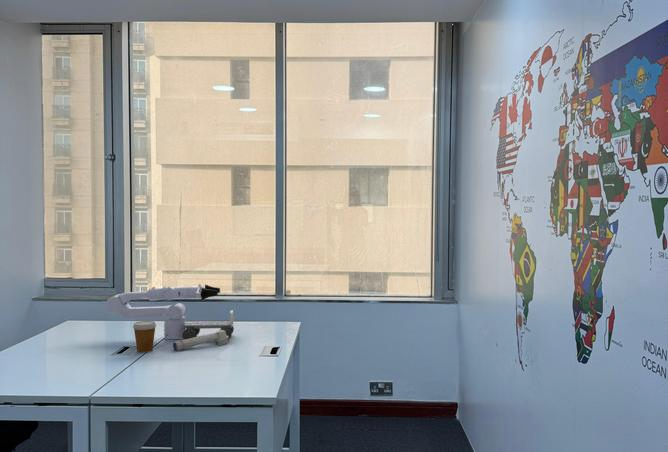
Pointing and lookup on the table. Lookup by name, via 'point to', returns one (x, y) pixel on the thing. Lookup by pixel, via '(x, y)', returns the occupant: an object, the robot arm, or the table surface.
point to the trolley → (195, 327)
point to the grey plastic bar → (201, 340)
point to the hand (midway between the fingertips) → (218, 291)
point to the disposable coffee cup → (144, 335)
